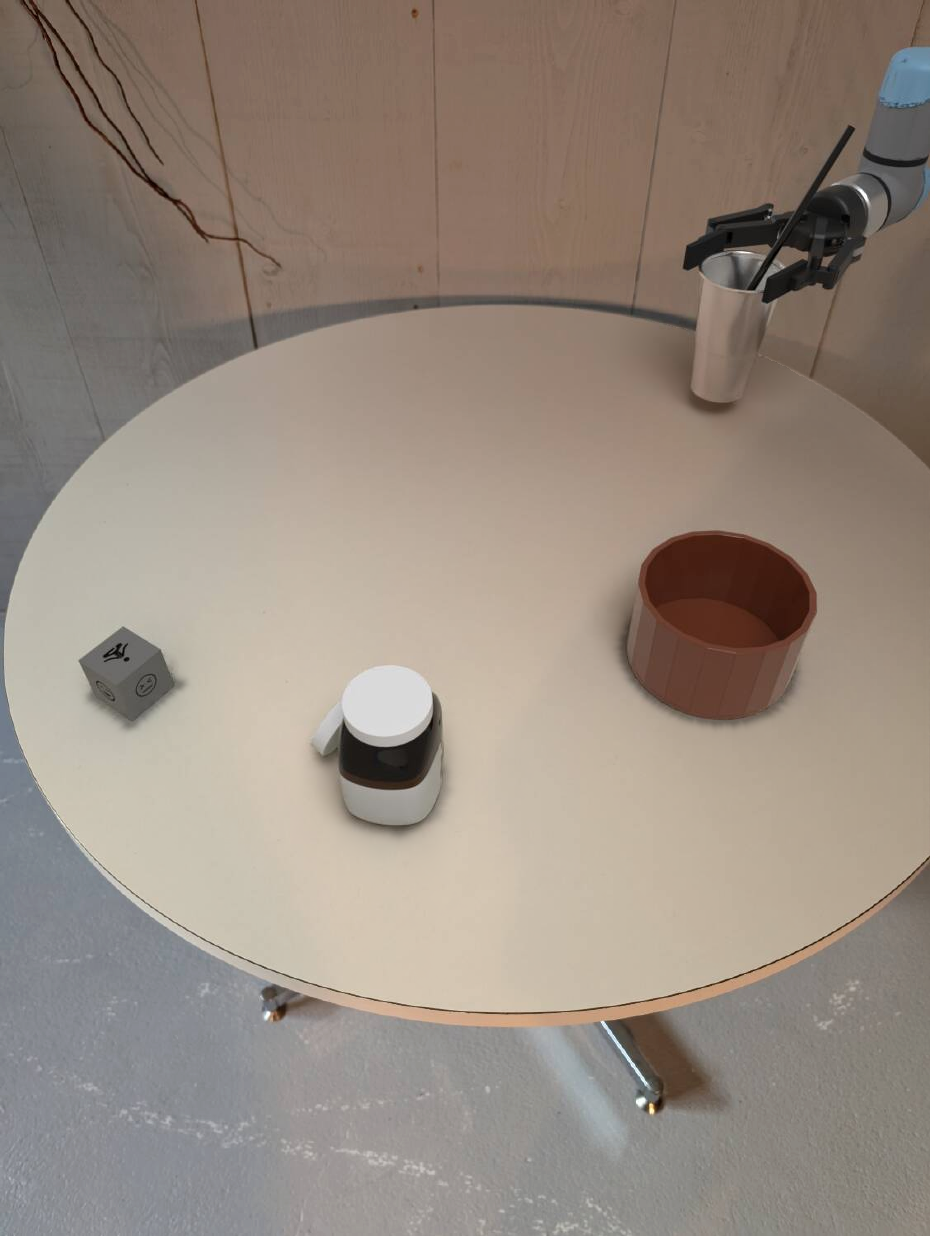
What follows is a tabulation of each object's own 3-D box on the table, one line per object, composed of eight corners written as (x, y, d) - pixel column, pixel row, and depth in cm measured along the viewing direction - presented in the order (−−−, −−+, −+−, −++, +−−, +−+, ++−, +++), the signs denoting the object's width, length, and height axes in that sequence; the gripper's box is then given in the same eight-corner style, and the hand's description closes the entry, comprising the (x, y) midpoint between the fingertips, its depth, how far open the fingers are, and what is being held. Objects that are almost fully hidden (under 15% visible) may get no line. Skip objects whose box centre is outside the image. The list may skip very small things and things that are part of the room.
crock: (824, 689, 83) (854, 622, 76) (679, 740, 79) (698, 674, 73) (731, 582, 93) (751, 514, 86) (598, 623, 89) (608, 555, 82)
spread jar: (430, 845, 72) (424, 761, 64) (293, 825, 74) (269, 741, 65) (456, 725, 80) (453, 636, 72) (332, 709, 82) (315, 620, 73)
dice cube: (138, 662, 86) (123, 626, 82) (174, 685, 84) (160, 649, 80) (95, 696, 83) (78, 660, 79) (132, 721, 81) (116, 685, 77)
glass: (782, 383, 114) (858, 124, 92) (738, 423, 108) (808, 157, 86) (706, 353, 118) (760, 101, 96) (660, 390, 112) (707, 130, 91)
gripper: (914, 278, 107) (805, 343, 96) (754, 219, 118) (642, 272, 108) (938, 213, 101) (825, 275, 91) (767, 158, 113) (651, 208, 103)
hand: (725, 273), depth 100 cm, fingers closed on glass, 10 cm apart
